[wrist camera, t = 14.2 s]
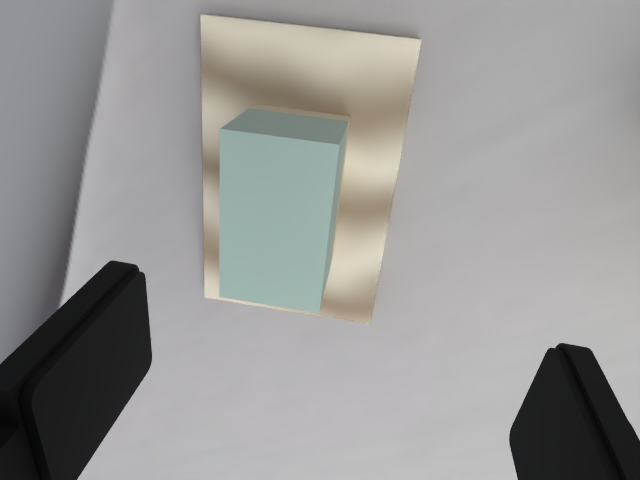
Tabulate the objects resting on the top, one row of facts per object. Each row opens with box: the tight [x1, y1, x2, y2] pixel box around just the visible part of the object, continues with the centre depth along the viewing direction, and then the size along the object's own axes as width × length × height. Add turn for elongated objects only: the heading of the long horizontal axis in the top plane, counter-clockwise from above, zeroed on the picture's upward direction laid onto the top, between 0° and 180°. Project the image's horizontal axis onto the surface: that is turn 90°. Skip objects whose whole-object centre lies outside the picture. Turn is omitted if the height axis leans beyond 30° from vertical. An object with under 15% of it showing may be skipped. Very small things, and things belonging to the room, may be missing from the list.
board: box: [201, 14, 421, 324], centre depth 32 cm, size 20×13×2 cm, turn 175°
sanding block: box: [219, 104, 351, 313], centre depth 28 cm, size 10×6×7 cm, turn 175°
